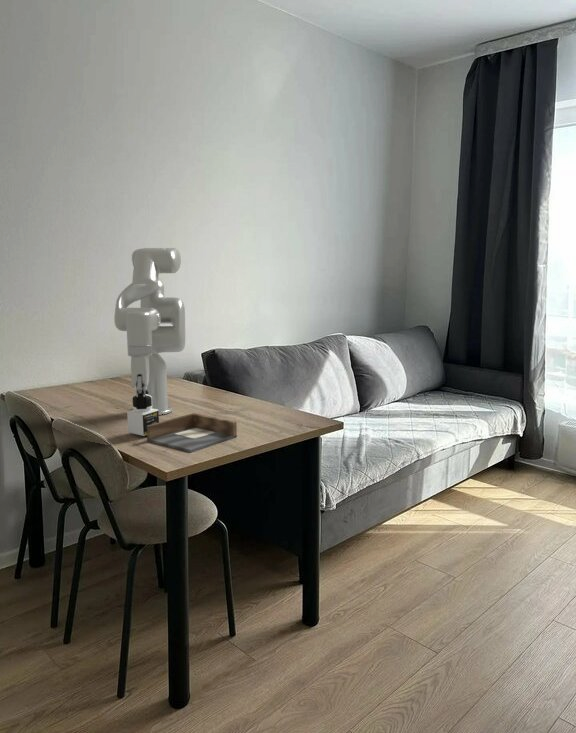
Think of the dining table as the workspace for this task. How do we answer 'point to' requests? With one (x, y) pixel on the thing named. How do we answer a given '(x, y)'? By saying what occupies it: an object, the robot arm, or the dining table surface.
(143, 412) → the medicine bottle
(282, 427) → the dining table surface
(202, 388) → the dining table surface
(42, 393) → the dining table surface
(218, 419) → the tray
